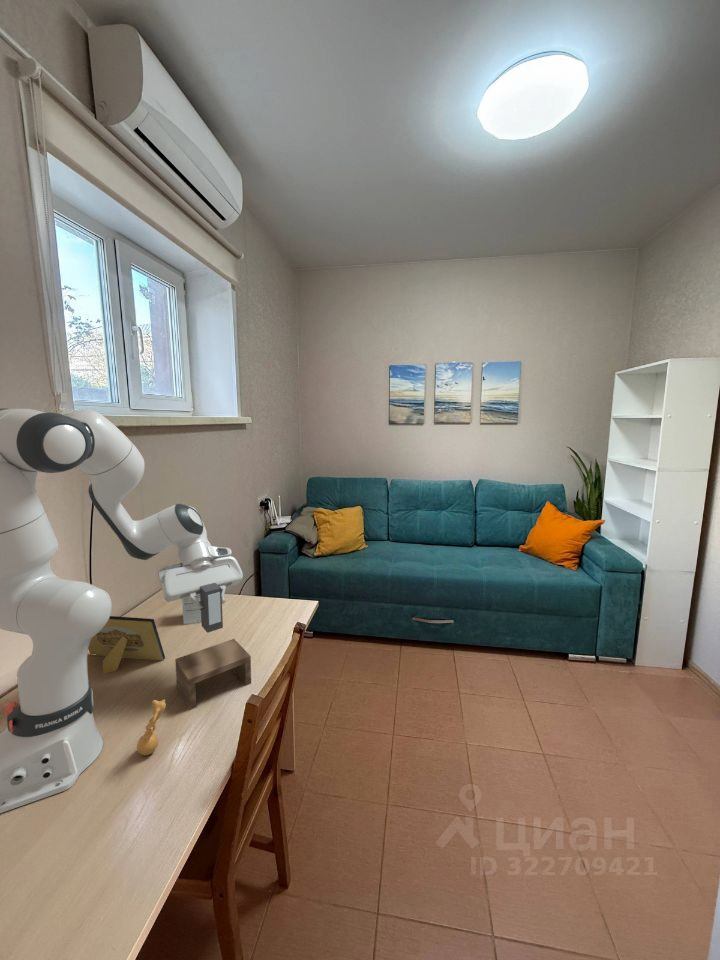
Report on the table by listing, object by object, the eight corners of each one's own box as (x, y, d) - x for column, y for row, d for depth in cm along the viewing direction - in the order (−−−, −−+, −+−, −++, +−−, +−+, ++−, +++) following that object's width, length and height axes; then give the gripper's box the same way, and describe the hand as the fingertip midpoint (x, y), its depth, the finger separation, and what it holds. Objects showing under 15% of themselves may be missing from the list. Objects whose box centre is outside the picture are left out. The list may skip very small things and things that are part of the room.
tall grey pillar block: (207, 633, 100) (206, 592, 99) (201, 625, 104) (199, 586, 102) (223, 628, 103) (221, 588, 101) (216, 621, 106) (215, 582, 105)
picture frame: (165, 657, 117) (159, 613, 114) (146, 679, 109) (139, 632, 105) (93, 652, 120) (85, 608, 116) (69, 673, 111) (60, 627, 107)
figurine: (146, 737, 88) (143, 688, 86) (174, 735, 88) (171, 686, 87) (129, 769, 79) (125, 716, 78) (161, 767, 80) (157, 713, 79)
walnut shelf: (189, 709, 96) (188, 679, 95) (176, 686, 105) (175, 659, 104) (251, 683, 107) (250, 655, 106) (234, 664, 115) (234, 638, 114)
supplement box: (185, 615, 144) (183, 582, 142) (207, 612, 146) (205, 580, 144) (182, 625, 137) (181, 590, 135) (205, 622, 139) (204, 588, 137)
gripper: (158, 562, 100) (171, 613, 94) (236, 547, 113) (251, 590, 107) (154, 574, 104) (166, 623, 98) (230, 558, 117) (245, 600, 111)
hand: (211, 606), depth 102 cm, fingers closed on tall grey pillar block, 4 cm apart
